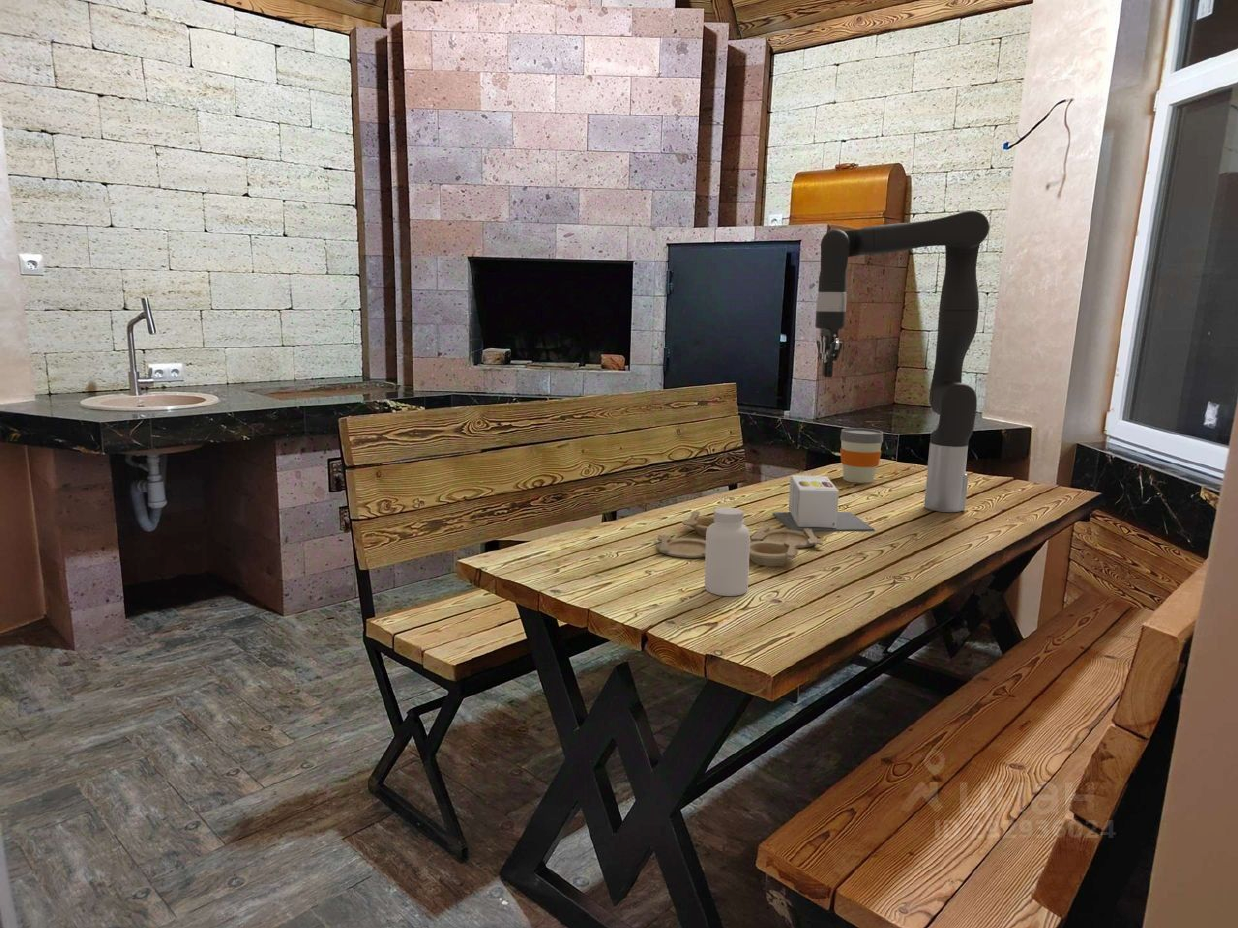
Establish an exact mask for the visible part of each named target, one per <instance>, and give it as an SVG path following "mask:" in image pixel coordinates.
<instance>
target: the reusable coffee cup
mask: <svg viewBox="0 0 1238 928" xmlns="http://www.w3.org/2000/svg"><path fill="white" fill-rule="evenodd" d="M840 432H841V433H840V437H839V439H840V442H841V444H840V445H841V447H840V448H839V451H840V463H841V464H842V474H843V475H842V477H843V480H844V481H846V482H851V483H859V484H867V483H868V484H870V483H873V482H874V481H875V476H876V472H877V467H878V466H880V465H879V464H880V460H881V456H882V450H881V448H882V443H883V442H884V432H883V431H881V430H879V429H878V430H877V429H874V428H873V429H870V428H861V427H859V428H857V427H850V428H849V427H848V428H843V429H841V431H840Z"/></svg>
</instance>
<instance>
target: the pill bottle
mask: <svg viewBox="0 0 1238 928" xmlns="http://www.w3.org/2000/svg"><path fill="white" fill-rule="evenodd" d="M713 516H714V522H715V523H713V524H711V525H710V526H709V527H708V528H707V531H706V536H705V540H706V553H705V557H704V558H705V560H704V561H705V562H704V587H705V590H706V591H707V592H708V593H710V594H713V595H717V596H721V597H722V596H723V597H736V596H742V595H743V594H746V592H747V591H748V589H749V588H748V587H749V576H750V575H749V574H750V573H749V568H750V555H749V551H750V542H751V531H750V529H749V527H748V526H747V525H745V524H743V523H744V511H743V510H742V509H740V508H736V507H718V508H715V509H714V510H713Z"/></svg>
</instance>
